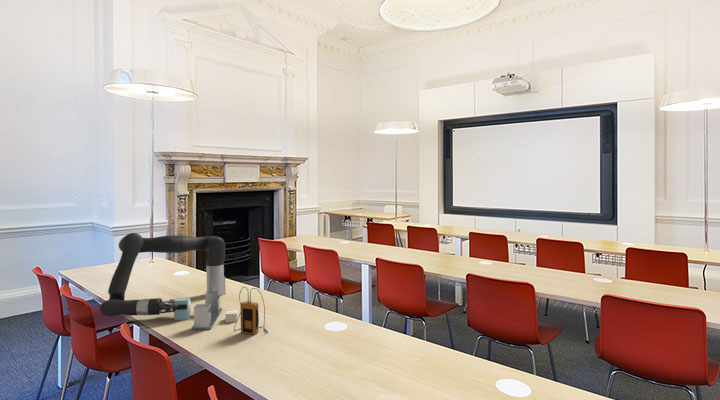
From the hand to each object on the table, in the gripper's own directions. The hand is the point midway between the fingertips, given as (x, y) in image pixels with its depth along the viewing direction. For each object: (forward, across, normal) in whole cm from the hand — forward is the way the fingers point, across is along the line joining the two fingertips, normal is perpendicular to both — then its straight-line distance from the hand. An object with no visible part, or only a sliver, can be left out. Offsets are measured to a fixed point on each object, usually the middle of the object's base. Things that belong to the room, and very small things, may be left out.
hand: (188, 305), depth 186 cm
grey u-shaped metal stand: (+10, -4, +6) cm, 12 cm away
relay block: (+21, -6, +6) cm, 23 cm away
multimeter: (+32, -20, +6) cm, 39 cm away
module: (-3, 0, +6) cm, 7 cm away
